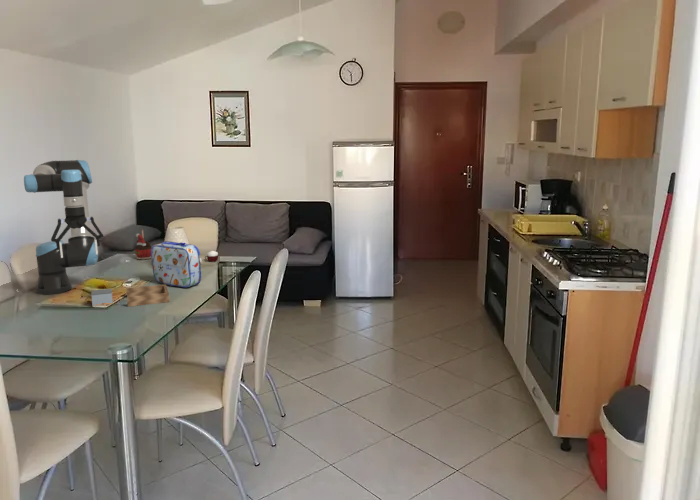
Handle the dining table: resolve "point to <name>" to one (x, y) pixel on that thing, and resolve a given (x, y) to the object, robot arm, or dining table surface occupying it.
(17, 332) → the dining table surface
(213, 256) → the cocoa
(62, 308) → the dining table surface
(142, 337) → the dining table surface
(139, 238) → the cake
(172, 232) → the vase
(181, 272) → the lunch box
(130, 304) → the bay
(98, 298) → the gray block
